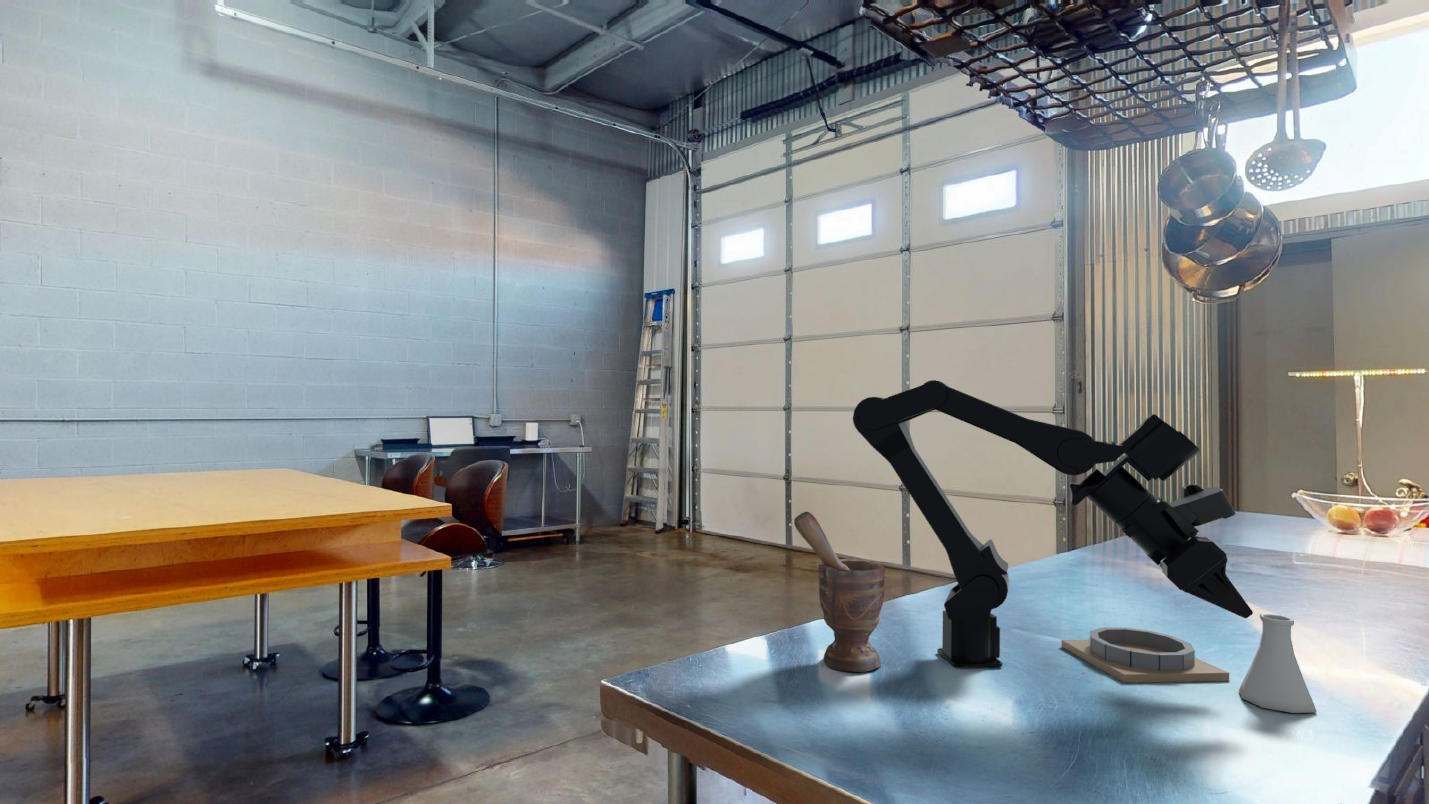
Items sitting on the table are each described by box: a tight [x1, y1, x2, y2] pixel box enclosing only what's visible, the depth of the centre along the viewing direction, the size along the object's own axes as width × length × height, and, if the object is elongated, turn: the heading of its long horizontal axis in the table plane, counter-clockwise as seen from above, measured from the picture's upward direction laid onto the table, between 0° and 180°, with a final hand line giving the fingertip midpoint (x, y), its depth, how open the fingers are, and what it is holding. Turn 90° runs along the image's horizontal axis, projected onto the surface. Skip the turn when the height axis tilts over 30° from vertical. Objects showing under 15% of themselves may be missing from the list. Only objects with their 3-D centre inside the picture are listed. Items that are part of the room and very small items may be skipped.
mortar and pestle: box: [793, 511, 886, 673], centre depth 97 cm, size 12×9×20 cm
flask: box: [1238, 613, 1318, 714], centre depth 86 cm, size 7×7×10 cm
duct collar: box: [1060, 626, 1230, 684], centre depth 99 cm, size 14×14×3 cm
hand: (1238, 606), depth 88 cm, fingers open, 9 cm apart
